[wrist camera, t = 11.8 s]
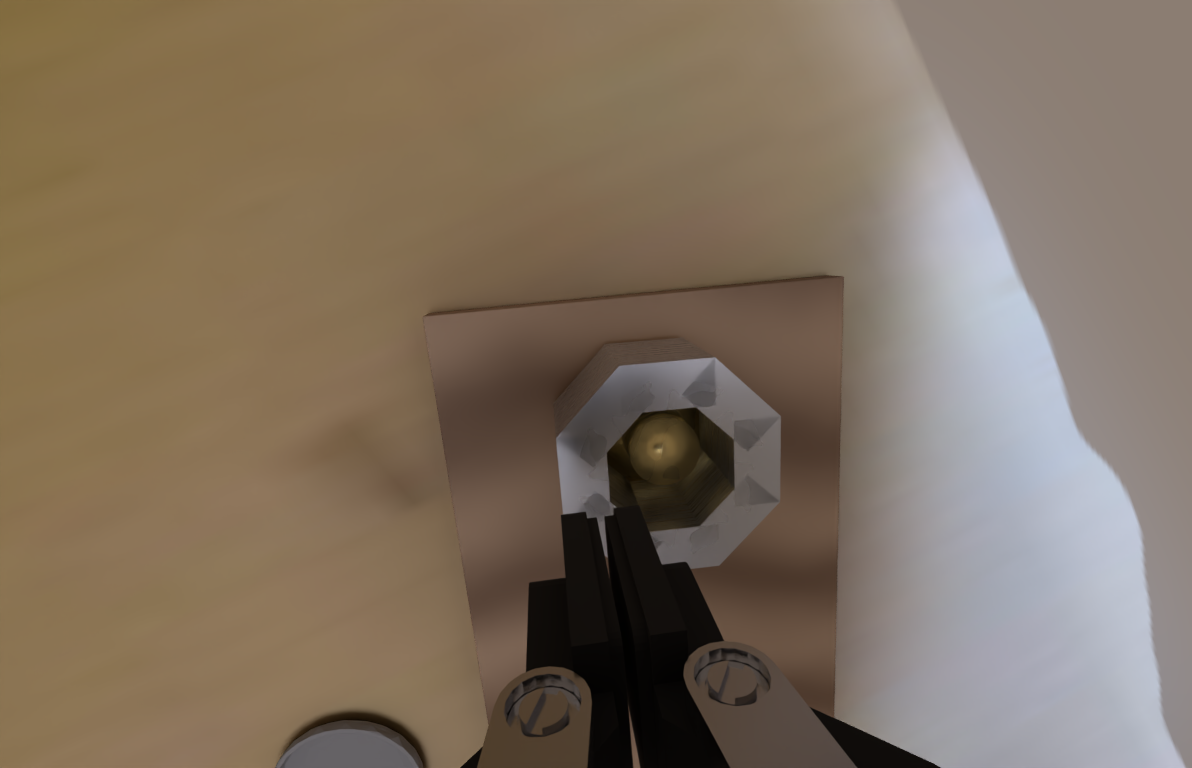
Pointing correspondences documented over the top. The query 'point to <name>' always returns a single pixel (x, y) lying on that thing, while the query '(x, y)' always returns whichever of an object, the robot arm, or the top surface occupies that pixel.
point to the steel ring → (726, 462)
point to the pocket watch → (350, 748)
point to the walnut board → (531, 473)
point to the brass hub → (658, 447)
